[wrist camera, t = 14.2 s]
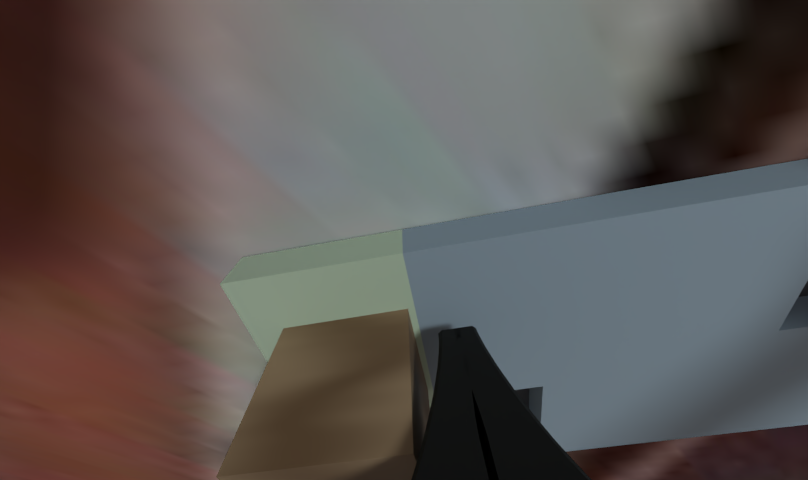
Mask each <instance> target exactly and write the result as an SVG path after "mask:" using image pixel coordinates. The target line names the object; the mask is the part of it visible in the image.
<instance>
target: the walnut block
mask: <svg viewBox="0 0 808 480" xmlns="http://www.w3.org/2000/svg"><path fill="white" fill-rule="evenodd" d="M429 412H430V407H429V396H428V388H427V384H426V380H425V376H424V372H423V368H422V364H421V360H420V356H419V352H418V347H417V343H416V339H415V335H414V331H413V327H412V323H411V319H410V315H409V311H408V309H403V310H397V311H390V312H384V313H378V314H371V315H365V316H359V317H352V318H346V319H340V320H333V321H327V322H321V323H314V324H308V325H302V326H295V327H289V328H283V330H282V333H281V335H280V337H279V339H278V341H277V344H276V346H275V348H274V350H273V352H272V355H271V357H270V359H269V361H268V364H267V366H266V368H265V370H264V372H263V375H262V377H261V379H260V381H259V384H258V386H257V388H256V390H255V392H254V395H253V397H252V399H251V401H250V404H249V406H248V408H247V410H246V412H245V415H244V417H243V419H242V421H241V424H240V426H239V428H238V430H237V432H236V435H235V437H234V439H233V441H232V444H231V446H230V448H229V450H228V452H227V455H226V457H225V459H224V461H223V463H222V466H221V468H220V470H219V472H218V475H217V478H218V479H219V480H411V479H412V476H413V473H414V470H415V466H416V463H417V459H418V456H419V452H420V449H421V445H422V441H423V437H424V434H425V430H426V425H427V421H428V416H429Z"/></svg>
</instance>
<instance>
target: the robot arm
mask: <svg viewBox="0 0 808 480" xmlns="http://www.w3.org/2000/svg"><path fill="white" fill-rule="evenodd" d="M438 336H439V355H438V365H437V373H436V380H435V386H434V392H433V398H432V403H431V407H430V412H429V416H428V421H427V425H426V430H425V434H424V437H423V441H422V445H421V449H420V452H419V456H418V459H417V463H416V466H415V470H414V473H413V476H412V479H411V480H591V479H590V478H589V477H588V476H587V475H586V474H585V472H584V471H583V470H582V469H581V468H580V467H579V466H578V465H577V464H576V463H575V462H574V461H573V460H572V458H571V457H570V456H569V455H568V454H567V453H566V452H565V451H564V449H563V448H562V447H561V446H560V445H559V444H558V443H557V442H556V440H555V439H554V438H553V437H552V436H551V435H550V434H549V432H548V431H547V430H546V429H545V428H544V426H543V425H542V424H541V423H540V422H539V420H538V419H537V418H536V417H535V415H534V414H533V413H532V412H531V410H530V409H529V408H528V407H527V405H526V404H525V403H524V402H523V400H522V399H521V398H520V396H519V395H518V394H517V392H516V391H515V390H514V388H513V387H512V385H511V384H510V383H509V381H508V380H507V379H506V377H505V376H504V374H503V373H502V372H501V370H500V369H499V367H498V366H497V364H496V363H495V361H494V360H493V358H492V356H491V355H490V353H489V352H488V350H487V348H486V347H485V345H484V343H483V341H482V340H481V338H480V336H479V334H478V332H477V330H476V328H475V327H473V326H468V327H461V328H454V329H447V330H441V331H440V332H439V333H438Z"/></svg>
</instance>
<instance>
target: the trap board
mask: <svg viewBox="0 0 808 480" xmlns="http://www.w3.org/2000/svg"><path fill="white" fill-rule="evenodd" d="M220 285H221V287H222V289H223V290H224V292H225V294H226V295H227V297H228V298H229V300H230V302H231V303H232V305H233V307H234V308H235V310H236V312H237V313H238V315H239V317H240V318H241V320H242V321H243V323H244V325H245V326H246V328H247V330H248V331H249V333H250V335H251V336H252V338H253V340H254V341H255V343H256V344H257V346H258V348H259V349H260V351H261V353H262V354H263V356H264V358H265V359H266V361H267V363H268V361H269V359H270V357H271V355H272V352H273V350H274V348H275V346H276V344H277V341H278V339H279V337H280V335H281V333H282V330H283V328H289V327H295V326H302V325H308V324H314V323H321V322H327V321H333V320H340V319H346V318H352V317H359V316H365V315H371V314H378V313H384V312H390V311H397V310H403V309H408V311H409V315H410V319H411V323H412V327H413V331H414V335H415V339H416V343H417V347H418V352H419V356H420V360H421V364H422V368H423V372H424V376H425V380H426V384H427V388H428V396H429V407H431V403H432V398H433V392H434V386H435V380H436V373H437V365H438V355H439V336H438V333H439V332H440V331H441V330H447V329H454V328H461V327H468V326H473V327H475V328H476V330H477V332H478V334H479V336H480V338H481V340H482V341H483V343H484V345H485V347H486V348H487V350H488V352H489V353H490V355H491V356H492V358H493V360H494V361H495V363H496V364H497V366H498V367H499V369H500V370H501V372H502V373H503V374H504V376H505V377H506V379H507V380H508V381H509V383H510V384H511V385H512V387H513V388H514V390H515V391H516V392H517V394H518V395H519V396H520V398H521V399H522V400H523V402H524V403H525V404H526V405H527V407H528V408H529V409H530V410H531V412H532V413H533V414H534V415H535V417H536V418H537V419H538V420H539V422H540V423H541V424H542V425H543V426H544V428H545V429H546V430H547V431H548V432H549V434H550V435H551V436H552V437H553V438H554V439H555V440H556V442H557V443H558V444H559V445H560V446H561V447H562V448H563V449H564V451H565V452H567V451H575V450H584V449H593V448H602V447H611V446H620V445H629V444H638V443H647V442H655V441H664V440H673V439H682V438H691V437H700V436H709V435H718V434H726V433H735V432H744V431H753V430H762V429H771V428H780V427H789V426H798V425H806V424H808V159H803V160H797V161H791V162H786V163H780V164H774V165H769V166H763V167H757V168H751V169H746V170H740V171H734V172H728V173H723V174H717V175H711V176H706V177H700V178H694V179H688V180H683V181H677V182H671V183H665V184H660V185H654V186H648V187H643V188H637V189H631V190H625V191H620V192H614V193H608V194H603V195H597V196H591V197H585V198H580V199H574V200H568V201H562V202H557V203H551V204H545V205H540V206H534V207H528V208H522V209H517V210H511V211H505V212H499V213H494V214H488V215H482V216H477V217H471V218H465V219H459V220H454V221H448V222H442V223H437V224H431V225H425V226H419V227H414V228H408V229H402V230H396V231H391V232H385V233H379V234H374V235H368V236H362V237H356V238H351V239H345V240H339V241H333V242H328V243H322V244H316V245H311V246H305V247H299V248H293V249H288V250H282V251H276V252H271V253H265V254H259V255H253V256H248V257H242V258H241V260H240V261H239V262H238V263H237V264H236V265H235V267H234V268H233V269H232V270H231V271H230V273H229V274H228V275H227V276H226V277H225V279H224V280H223V281H222V282H221V283H220Z"/></svg>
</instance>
